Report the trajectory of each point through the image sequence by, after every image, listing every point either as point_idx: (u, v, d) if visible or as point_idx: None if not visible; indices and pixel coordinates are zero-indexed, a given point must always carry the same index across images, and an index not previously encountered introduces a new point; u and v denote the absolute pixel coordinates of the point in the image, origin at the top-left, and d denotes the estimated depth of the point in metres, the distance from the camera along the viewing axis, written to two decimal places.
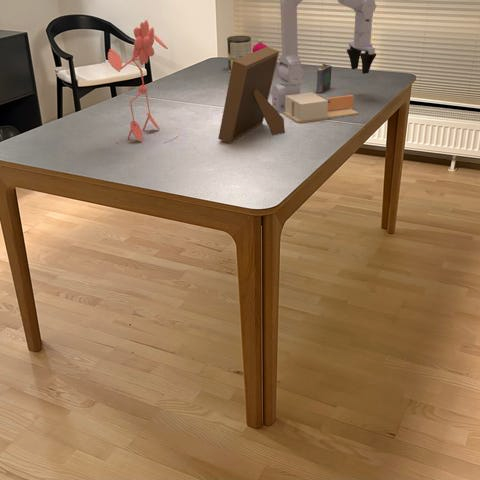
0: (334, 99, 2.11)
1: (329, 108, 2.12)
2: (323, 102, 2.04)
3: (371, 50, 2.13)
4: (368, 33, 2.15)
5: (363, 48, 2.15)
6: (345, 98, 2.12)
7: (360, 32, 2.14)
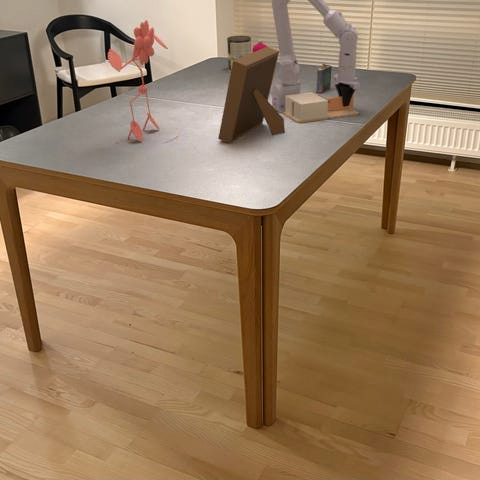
0: (334, 99, 2.11)
1: (329, 108, 2.12)
2: (323, 102, 2.04)
3: (356, 85, 2.04)
4: (353, 67, 2.06)
5: (347, 83, 2.06)
6: None
7: (340, 65, 2.06)
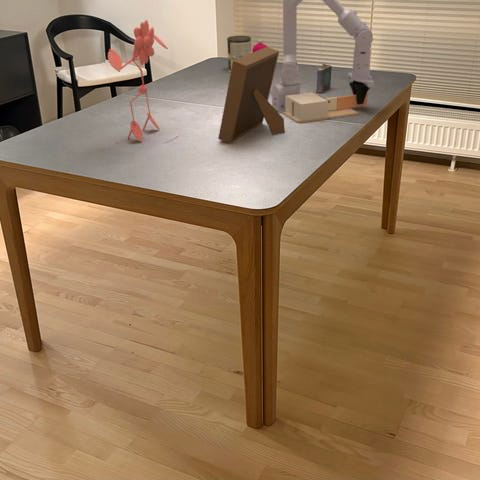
0: (349, 97, 2.13)
1: (343, 106, 2.13)
2: (323, 102, 2.04)
3: (370, 83, 2.06)
4: (367, 65, 2.07)
5: (362, 81, 2.08)
6: None
7: (355, 64, 2.08)
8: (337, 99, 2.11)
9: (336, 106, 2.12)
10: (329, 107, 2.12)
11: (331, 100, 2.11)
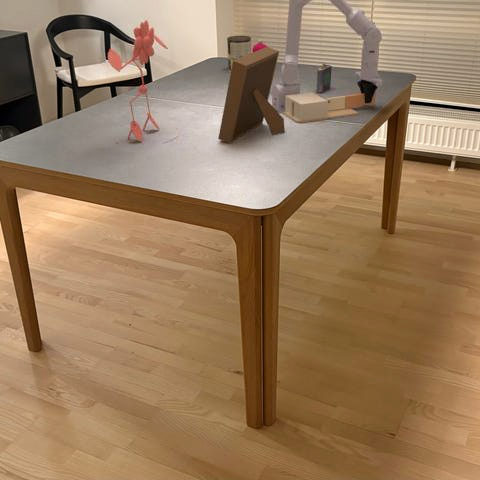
0: (357, 96, 2.14)
1: (351, 105, 2.14)
2: (323, 102, 2.04)
3: (378, 82, 2.07)
4: (375, 64, 2.08)
5: (370, 80, 2.09)
6: None
7: (364, 63, 2.09)
8: (345, 98, 2.12)
9: (344, 105, 2.13)
10: (337, 106, 2.13)
11: (339, 99, 2.12)
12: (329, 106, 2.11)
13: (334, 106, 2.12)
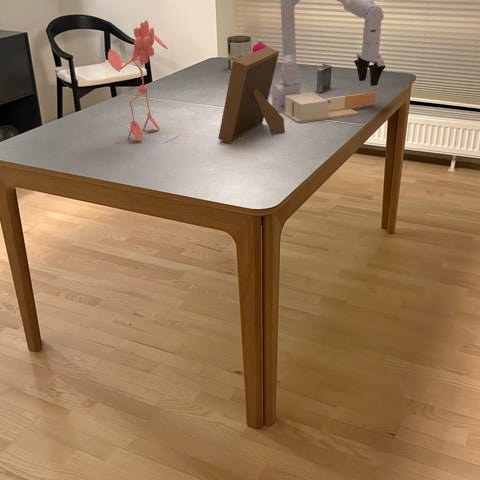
0: (357, 96, 2.14)
1: (351, 105, 2.14)
2: (323, 102, 2.04)
3: (380, 62, 2.03)
4: (377, 44, 2.05)
5: (372, 59, 2.05)
6: (367, 95, 2.15)
7: (365, 42, 2.05)
8: (345, 98, 2.12)
9: (344, 105, 2.13)
10: (337, 106, 2.13)
11: (339, 99, 2.12)
12: (329, 106, 2.11)
13: (334, 106, 2.12)
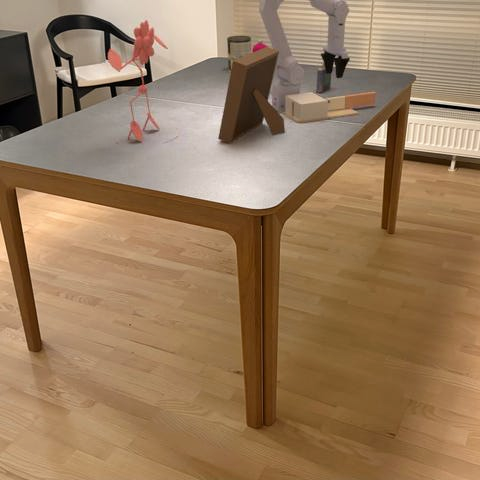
0: (357, 96, 2.14)
1: (351, 105, 2.14)
2: (323, 102, 2.04)
3: (344, 54, 2.11)
4: (341, 37, 2.13)
5: (336, 52, 2.13)
6: (367, 95, 2.15)
7: (334, 36, 2.12)
8: (345, 98, 2.12)
9: (344, 105, 2.13)
10: (337, 106, 2.13)
11: (339, 99, 2.12)
12: (329, 106, 2.11)
13: (334, 106, 2.12)
